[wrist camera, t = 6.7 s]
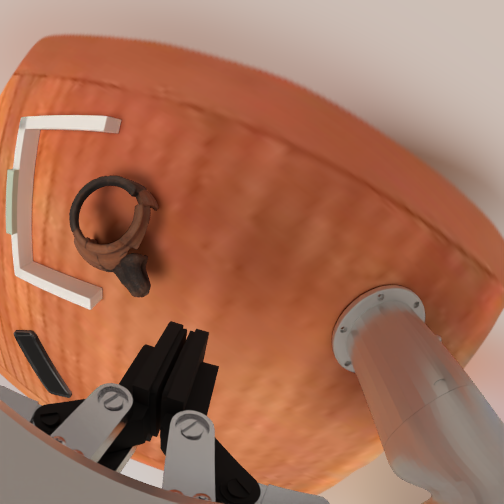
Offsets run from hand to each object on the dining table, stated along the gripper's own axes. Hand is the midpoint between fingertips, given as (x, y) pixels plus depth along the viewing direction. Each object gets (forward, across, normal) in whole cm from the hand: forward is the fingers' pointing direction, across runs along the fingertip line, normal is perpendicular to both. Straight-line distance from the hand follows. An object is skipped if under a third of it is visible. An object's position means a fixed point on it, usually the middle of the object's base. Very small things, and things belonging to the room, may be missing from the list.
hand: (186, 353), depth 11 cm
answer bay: (+16, +22, 0) cm, 27 cm away
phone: (+17, +30, +31) cm, 47 cm away
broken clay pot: (+17, +11, +1) cm, 20 cm away
